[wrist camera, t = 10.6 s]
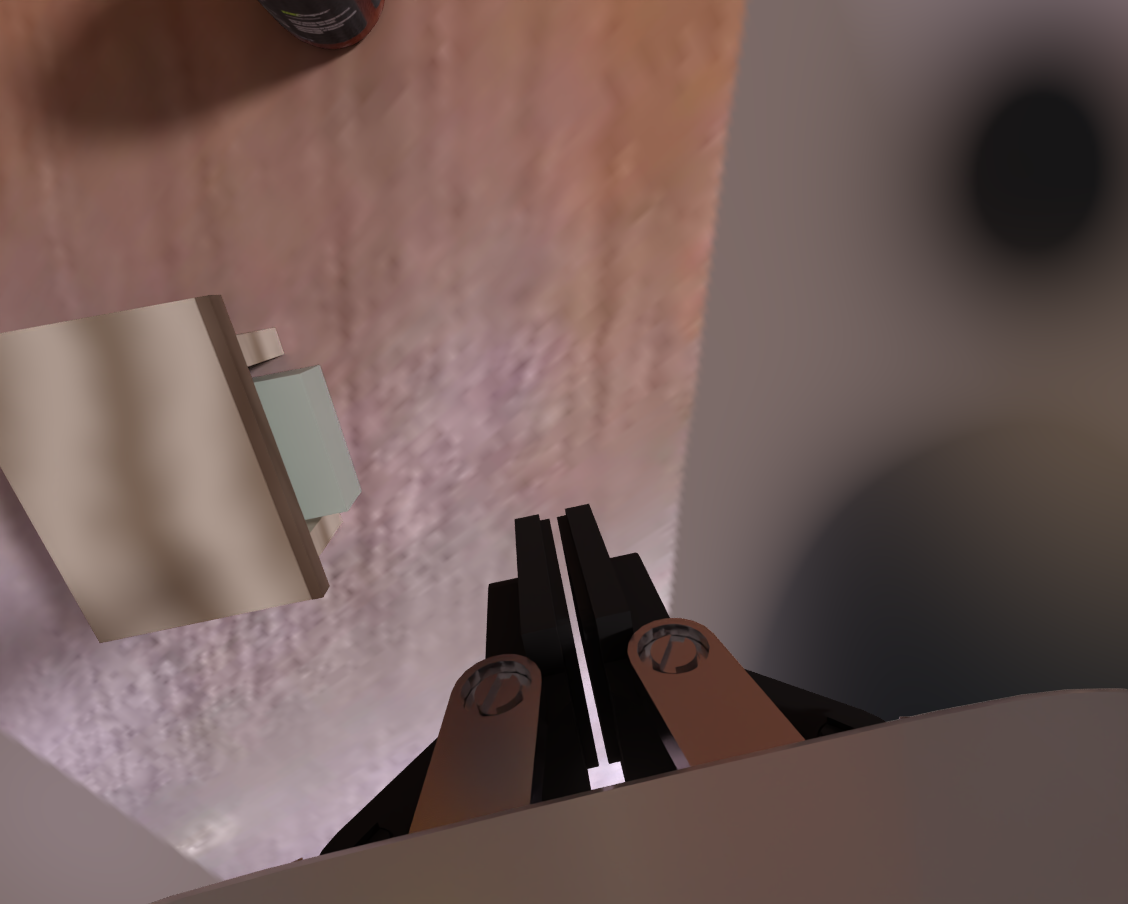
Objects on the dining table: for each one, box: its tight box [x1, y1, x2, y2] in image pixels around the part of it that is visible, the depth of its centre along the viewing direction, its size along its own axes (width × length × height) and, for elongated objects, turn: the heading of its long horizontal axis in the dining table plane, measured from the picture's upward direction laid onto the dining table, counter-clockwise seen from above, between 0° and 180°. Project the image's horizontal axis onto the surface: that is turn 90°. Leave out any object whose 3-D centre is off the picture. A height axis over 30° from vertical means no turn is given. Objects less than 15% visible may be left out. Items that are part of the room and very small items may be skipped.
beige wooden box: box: [0, 295, 343, 643], centre depth 28 cm, size 12×16×6 cm
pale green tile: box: [252, 365, 361, 520], centre depth 30 cm, size 8×12×3 cm, turn 101°
